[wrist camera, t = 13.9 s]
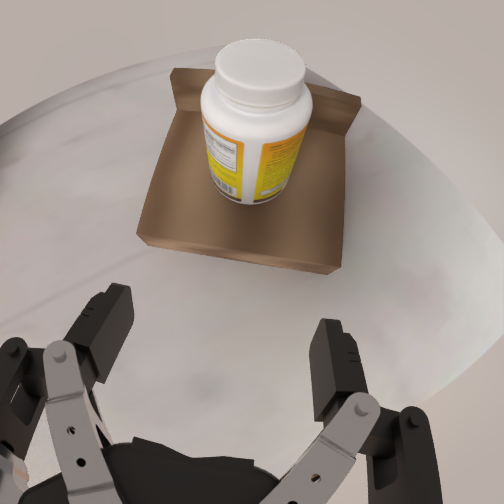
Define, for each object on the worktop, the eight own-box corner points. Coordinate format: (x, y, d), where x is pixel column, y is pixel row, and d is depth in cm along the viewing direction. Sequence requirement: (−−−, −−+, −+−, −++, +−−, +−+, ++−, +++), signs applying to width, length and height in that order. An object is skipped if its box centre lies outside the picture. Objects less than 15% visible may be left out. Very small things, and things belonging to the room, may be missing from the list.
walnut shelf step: (147, 245, 21) (114, 211, 15) (184, 122, 24) (173, 67, 18) (327, 274, 22) (365, 252, 15) (334, 146, 25) (360, 96, 18)
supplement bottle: (291, 148, 21) (325, 42, 11) (282, 214, 20) (324, 116, 10) (219, 136, 21) (214, 25, 11) (201, 200, 19) (178, 93, 10)
